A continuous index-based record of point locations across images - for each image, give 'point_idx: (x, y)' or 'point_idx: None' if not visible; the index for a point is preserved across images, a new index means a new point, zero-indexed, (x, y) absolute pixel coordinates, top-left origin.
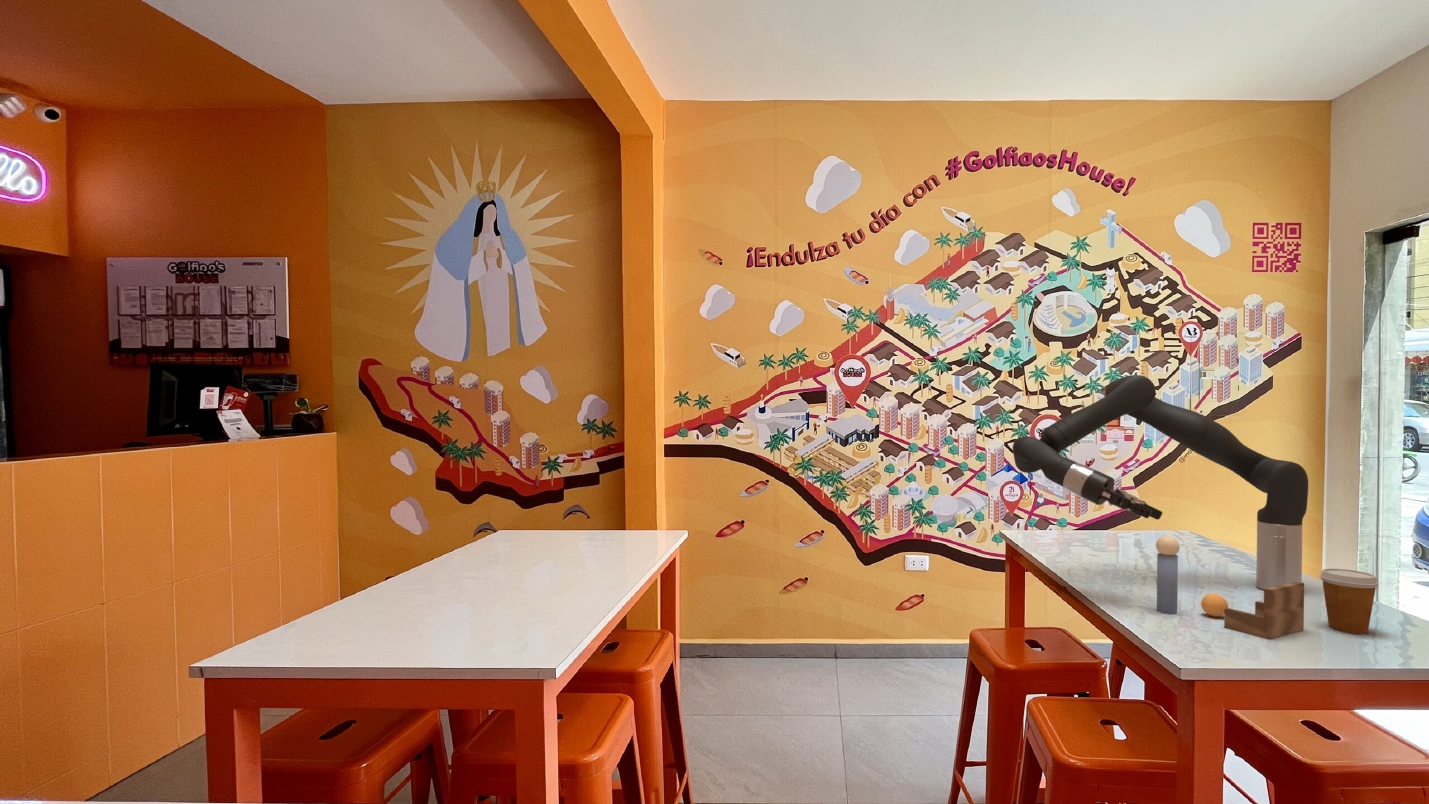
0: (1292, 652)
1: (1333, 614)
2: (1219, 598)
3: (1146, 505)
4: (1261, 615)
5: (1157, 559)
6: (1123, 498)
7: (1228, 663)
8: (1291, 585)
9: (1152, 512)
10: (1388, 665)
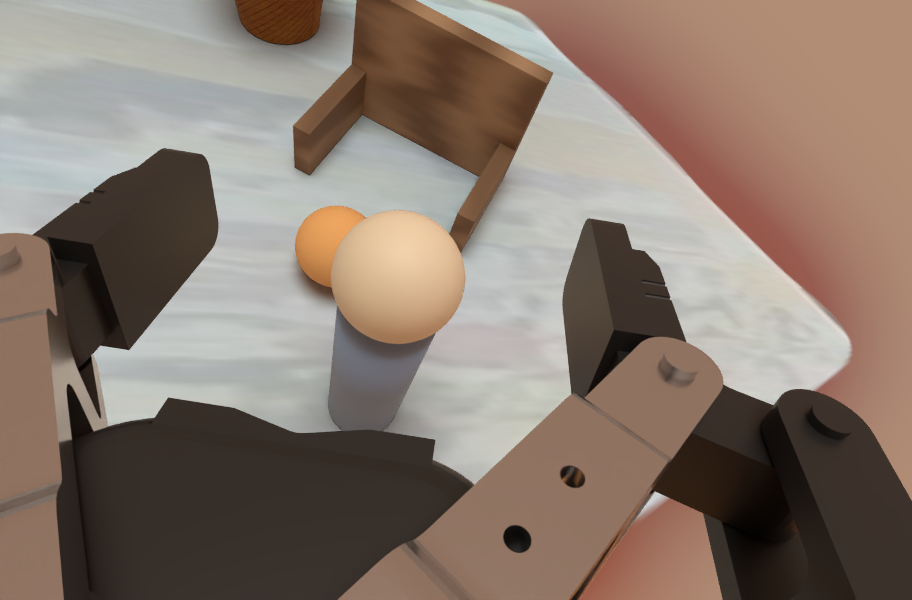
0: (579, 157)
1: (306, 7)
2: (361, 218)
3: (104, 252)
4: (318, 151)
5: (401, 362)
6: (880, 483)
7: (763, 275)
8: (435, 11)
9: (175, 238)
10: (540, 42)
